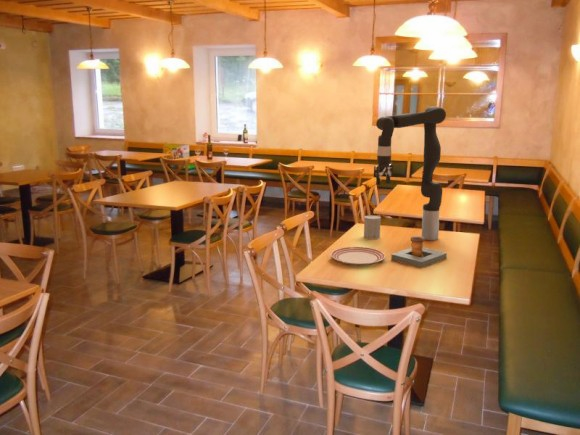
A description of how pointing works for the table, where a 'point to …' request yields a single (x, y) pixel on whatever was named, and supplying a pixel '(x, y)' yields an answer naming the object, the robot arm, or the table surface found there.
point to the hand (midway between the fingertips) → (383, 184)
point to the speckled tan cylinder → (372, 227)
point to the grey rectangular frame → (427, 259)
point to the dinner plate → (358, 255)
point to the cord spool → (417, 246)
